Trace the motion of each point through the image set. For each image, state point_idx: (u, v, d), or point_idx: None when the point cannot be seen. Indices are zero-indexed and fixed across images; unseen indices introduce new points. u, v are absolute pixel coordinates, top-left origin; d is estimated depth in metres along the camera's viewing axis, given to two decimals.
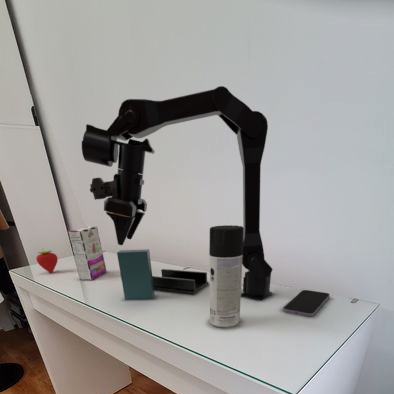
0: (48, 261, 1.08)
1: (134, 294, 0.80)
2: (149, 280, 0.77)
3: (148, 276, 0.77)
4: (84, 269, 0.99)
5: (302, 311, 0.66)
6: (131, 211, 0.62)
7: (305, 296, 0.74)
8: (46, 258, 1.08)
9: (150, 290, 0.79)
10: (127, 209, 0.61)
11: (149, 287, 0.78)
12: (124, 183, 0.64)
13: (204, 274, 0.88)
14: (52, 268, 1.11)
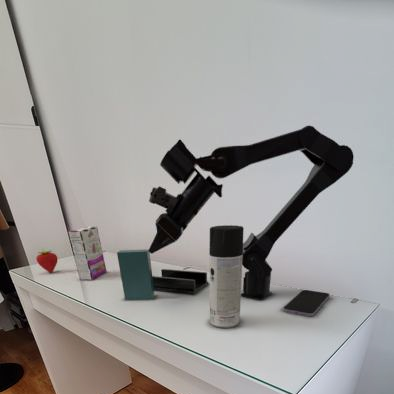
0: (48, 261, 1.08)
1: (134, 294, 0.80)
2: (149, 280, 0.77)
3: (148, 276, 0.77)
4: (84, 269, 0.99)
5: (302, 311, 0.66)
6: (178, 236, 0.65)
7: (305, 296, 0.74)
8: (46, 258, 1.08)
9: (150, 290, 0.79)
10: (177, 233, 0.64)
11: (149, 287, 0.78)
12: (183, 206, 0.67)
13: (204, 274, 0.88)
14: (52, 268, 1.11)
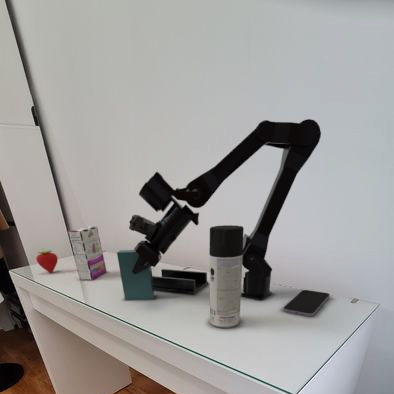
0: (48, 261, 1.08)
1: (134, 294, 0.80)
2: (149, 280, 0.77)
3: (148, 276, 0.77)
4: (84, 269, 0.99)
5: (302, 311, 0.66)
6: (156, 263, 0.68)
7: (305, 296, 0.74)
8: (46, 258, 1.08)
9: (150, 290, 0.79)
10: (154, 261, 0.67)
11: (149, 287, 0.78)
12: (161, 234, 0.70)
13: (204, 274, 0.88)
14: (52, 268, 1.11)
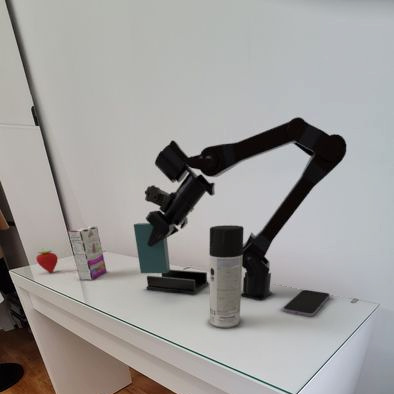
0: (48, 261, 1.08)
1: (149, 267, 0.81)
2: (163, 253, 0.78)
3: (163, 249, 0.77)
4: (84, 269, 0.99)
5: (302, 311, 0.66)
6: (166, 233, 0.68)
7: (305, 296, 0.74)
8: (46, 258, 1.08)
9: (164, 264, 0.79)
10: (164, 230, 0.67)
11: (163, 260, 0.79)
12: (175, 204, 0.70)
13: (204, 274, 0.88)
14: (52, 268, 1.11)
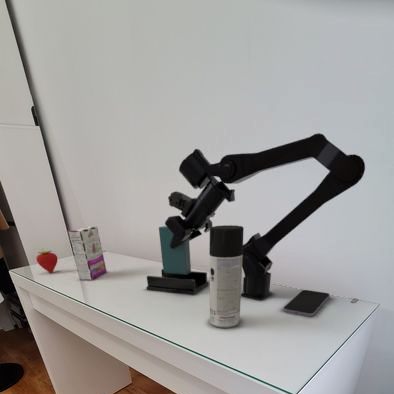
0: (48, 261, 1.08)
1: (171, 267, 0.85)
2: (184, 255, 0.82)
3: (183, 251, 0.81)
4: (84, 269, 0.99)
5: (302, 311, 0.66)
6: (182, 237, 0.71)
7: (305, 296, 0.74)
8: (46, 258, 1.08)
9: (184, 265, 0.83)
10: (180, 234, 0.71)
11: (184, 262, 0.83)
12: (195, 210, 0.73)
13: (204, 274, 0.88)
14: (52, 268, 1.11)
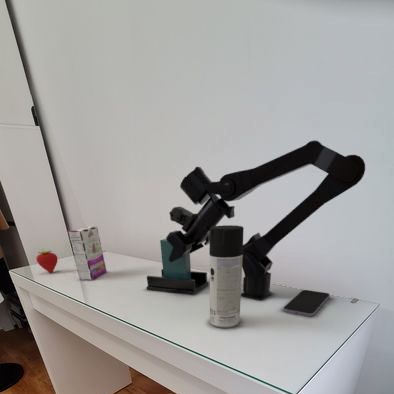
0: (48, 261, 1.08)
1: None
2: (185, 268, 0.83)
3: (184, 264, 0.83)
4: (84, 269, 0.99)
5: (302, 311, 0.66)
6: (183, 252, 0.73)
7: (305, 296, 0.74)
8: (46, 258, 1.08)
9: (185, 277, 0.85)
10: (181, 249, 0.73)
11: (184, 274, 0.85)
12: (196, 225, 0.75)
13: (204, 274, 0.88)
14: (52, 268, 1.11)
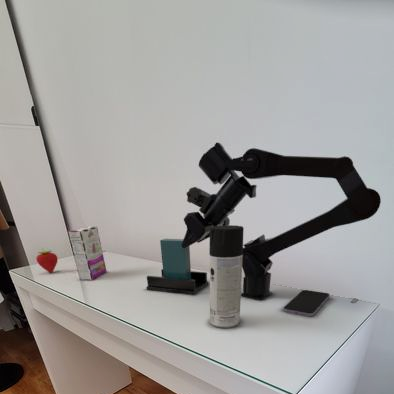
0: (48, 261, 1.08)
1: None
2: (185, 268, 0.83)
3: (184, 264, 0.83)
4: (84, 269, 0.99)
5: (302, 311, 0.66)
6: (202, 234, 0.69)
7: (305, 296, 0.74)
8: (46, 258, 1.08)
9: (185, 277, 0.85)
10: (200, 231, 0.68)
11: (184, 274, 0.85)
12: (215, 206, 0.71)
13: (204, 274, 0.88)
14: (52, 268, 1.11)
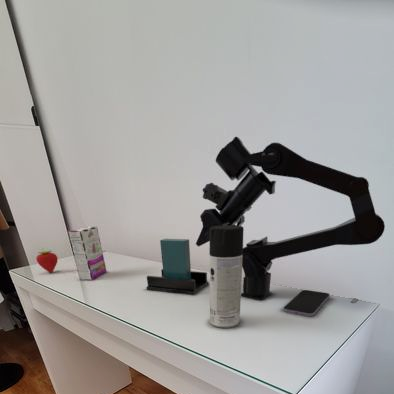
0: (48, 261, 1.08)
1: None
2: (185, 268, 0.83)
3: (184, 264, 0.83)
4: (84, 269, 0.99)
5: (302, 311, 0.66)
6: None
7: (305, 296, 0.74)
8: (46, 258, 1.08)
9: (185, 277, 0.85)
10: None
11: (184, 274, 0.85)
12: (232, 203, 0.68)
13: (204, 274, 0.88)
14: (52, 268, 1.11)
